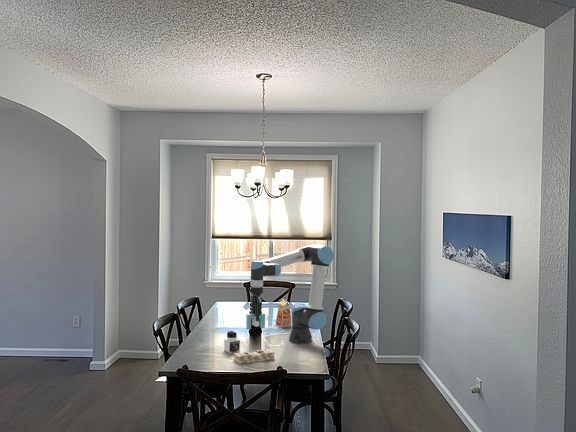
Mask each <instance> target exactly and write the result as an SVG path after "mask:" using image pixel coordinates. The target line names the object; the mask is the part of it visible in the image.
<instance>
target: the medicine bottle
mask: <svg viewBox="0 0 576 432" xmlns="http://www.w3.org/2000/svg"><path fill="white" fill-rule="evenodd" d="M240 345H241V340H240V339H239V338H238V332H237V331H235V330H228V331H227V333H226V338H225V339H223V347H224V348H223V351H224V352H227V353H229V354H232V353H233V354H234V353H240V352H241V351H240V349H241V346H240Z"/></svg>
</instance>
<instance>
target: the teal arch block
mask: <svg viewBox="0 0 576 432" xmlns="http://www.w3.org/2000/svg"><path fill="white" fill-rule="evenodd" d="M254 315H255V314H252V313H247V314H246V320H245V321H246V325H245V326H246V329H247V330H252V319H255V316H254ZM259 327H260V328H261V329H265V327H266V313H263V312H261V315H260V316H259Z"/></svg>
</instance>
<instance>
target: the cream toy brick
mask: <svg viewBox="0 0 576 432" xmlns="http://www.w3.org/2000/svg"><path fill="white" fill-rule="evenodd" d="M271 360H275V351H274V350H271V349H269V348H268V349H267V348H265V349H257V350H256V351H252V352H248V351H239V352H233V361H235V362H236V363H237V364H246V363H252V362H263V361H271Z"/></svg>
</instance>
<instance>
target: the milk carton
mask: <svg viewBox="0 0 576 432" xmlns="http://www.w3.org/2000/svg"><path fill="white" fill-rule="evenodd" d="M275 325H276V327H279V328H287V327H292V312H291V306H290V303H289V301H287V300H285V299H284V298H281V301H280V302H279V303H278V307H277V313H276V320H275ZM275 325H274V326H275Z"/></svg>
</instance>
